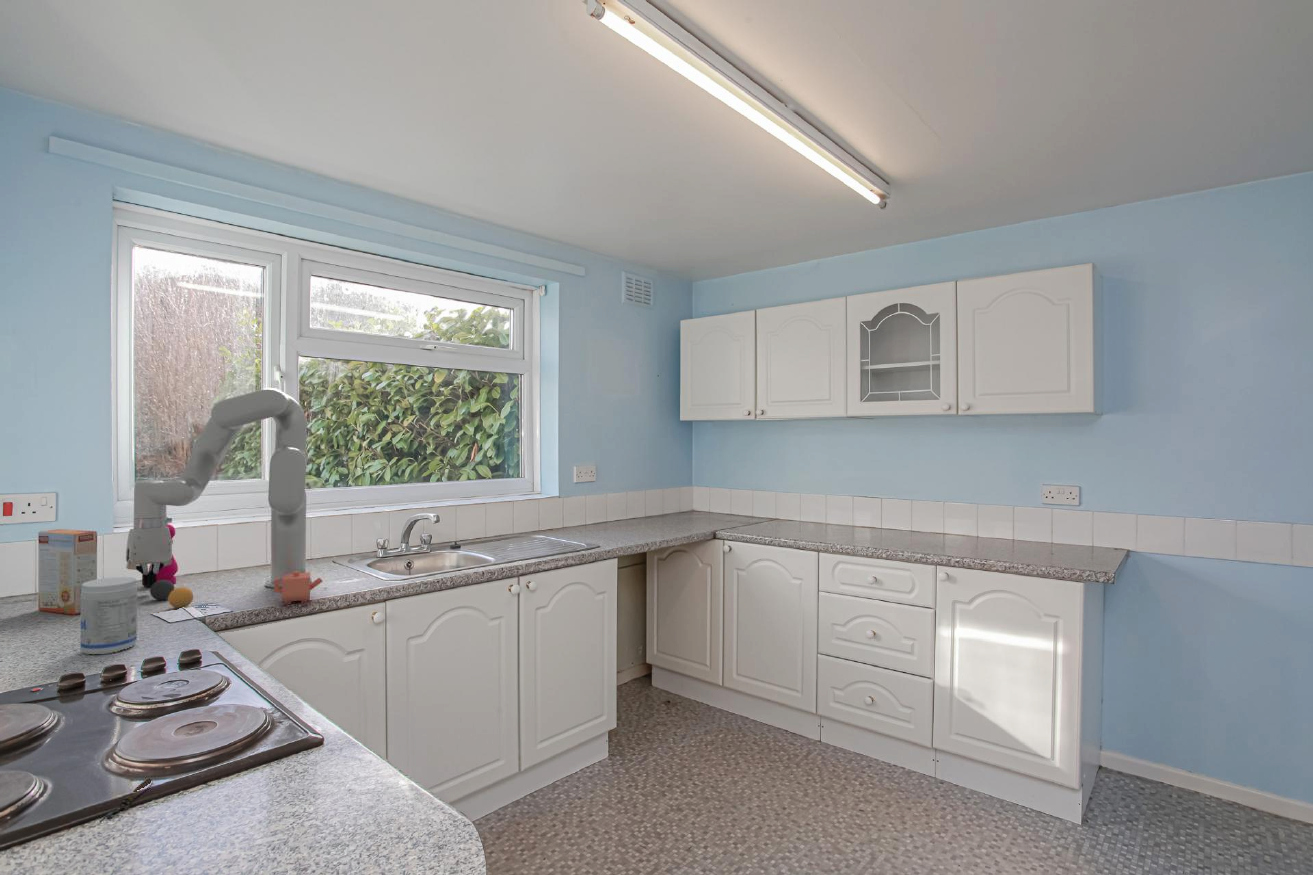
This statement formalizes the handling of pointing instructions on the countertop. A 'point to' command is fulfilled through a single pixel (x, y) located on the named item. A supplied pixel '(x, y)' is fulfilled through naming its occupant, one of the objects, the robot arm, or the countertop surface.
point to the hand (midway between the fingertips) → (149, 587)
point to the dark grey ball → (161, 589)
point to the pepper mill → (171, 569)
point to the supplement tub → (108, 615)
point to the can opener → (126, 800)
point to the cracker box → (65, 568)
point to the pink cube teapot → (295, 587)
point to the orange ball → (180, 597)
